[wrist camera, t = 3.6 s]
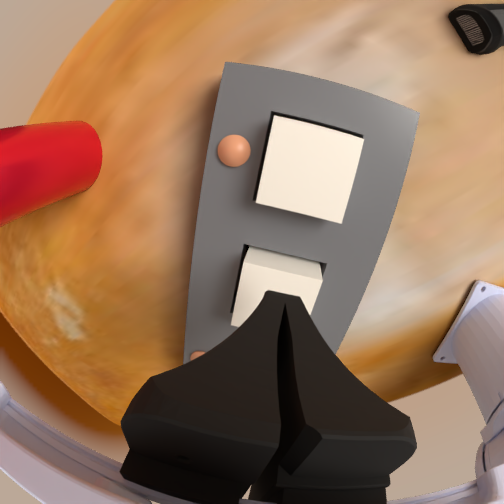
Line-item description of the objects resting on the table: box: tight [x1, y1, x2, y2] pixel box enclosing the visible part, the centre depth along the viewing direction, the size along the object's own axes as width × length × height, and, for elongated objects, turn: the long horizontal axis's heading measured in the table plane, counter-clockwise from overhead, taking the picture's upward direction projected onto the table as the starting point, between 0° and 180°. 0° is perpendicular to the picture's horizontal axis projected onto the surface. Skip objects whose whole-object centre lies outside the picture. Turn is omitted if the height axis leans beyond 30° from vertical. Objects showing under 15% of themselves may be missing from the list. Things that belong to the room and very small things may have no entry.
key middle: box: [231, 245, 323, 327], centre depth 16 cm, size 4×4×3 cm
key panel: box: [183, 62, 420, 365], centre depth 17 cm, size 10×23×3 cm, turn 169°
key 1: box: [256, 116, 364, 224], centre depth 13 cm, size 4×4×3 cm
